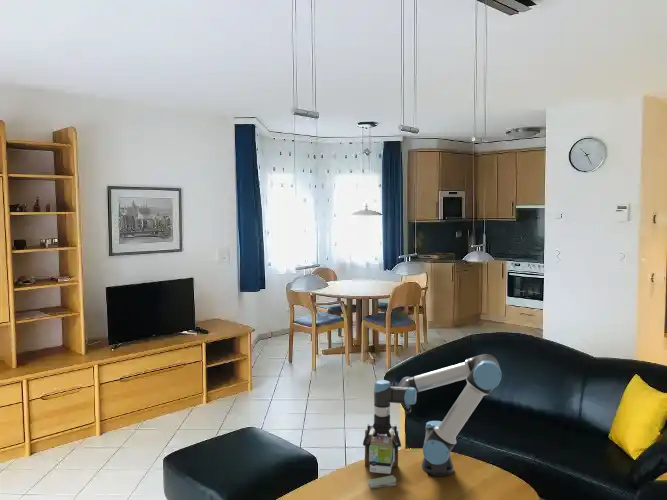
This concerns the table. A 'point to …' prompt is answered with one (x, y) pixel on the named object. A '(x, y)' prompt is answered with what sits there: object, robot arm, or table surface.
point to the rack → (367, 462)
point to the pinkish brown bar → (385, 486)
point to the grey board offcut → (383, 485)
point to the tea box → (381, 453)
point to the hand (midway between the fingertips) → (381, 460)
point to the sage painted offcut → (382, 480)
